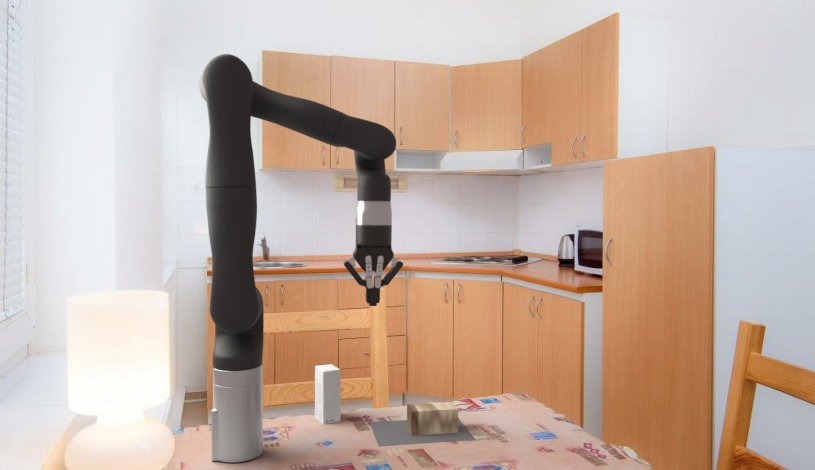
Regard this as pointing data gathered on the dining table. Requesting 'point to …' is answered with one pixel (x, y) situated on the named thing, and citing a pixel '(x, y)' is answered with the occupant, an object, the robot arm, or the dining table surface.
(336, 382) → the skincare box
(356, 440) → the dining table surface
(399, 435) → the mat
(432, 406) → the birch block
